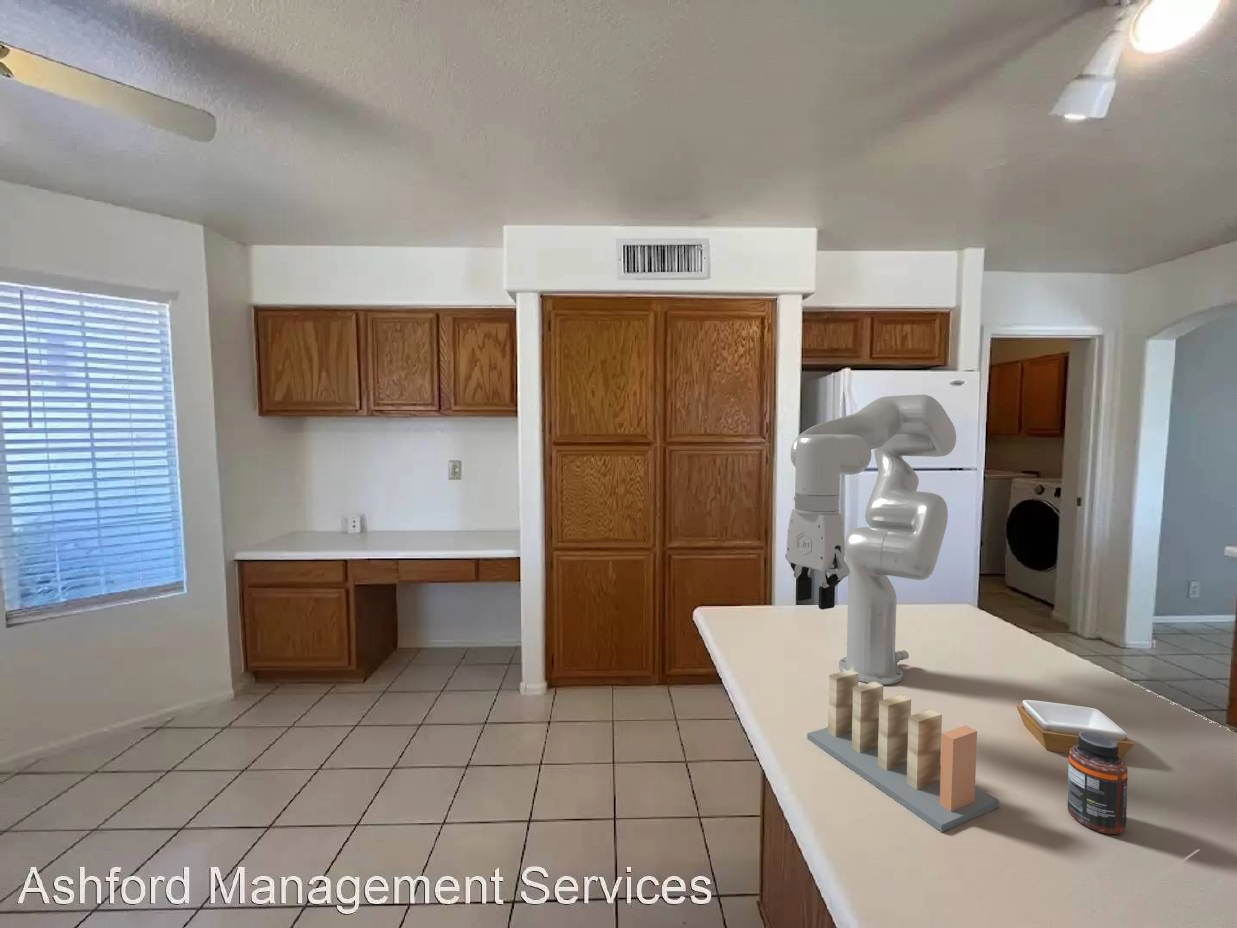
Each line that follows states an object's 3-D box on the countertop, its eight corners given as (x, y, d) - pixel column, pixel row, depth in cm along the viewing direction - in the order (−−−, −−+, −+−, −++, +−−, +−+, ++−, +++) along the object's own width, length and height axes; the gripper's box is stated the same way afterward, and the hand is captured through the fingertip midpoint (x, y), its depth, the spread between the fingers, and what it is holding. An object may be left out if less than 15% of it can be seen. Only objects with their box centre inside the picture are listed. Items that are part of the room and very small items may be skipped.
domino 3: (900, 756, 86) (902, 694, 85) (909, 761, 84) (911, 699, 84) (877, 764, 84) (879, 700, 83) (886, 769, 82) (888, 705, 82)
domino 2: (873, 740, 90) (875, 681, 90) (881, 745, 89) (883, 685, 88) (851, 747, 88) (853, 687, 88) (859, 752, 87) (861, 691, 86)
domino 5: (963, 794, 77) (965, 725, 76) (974, 801, 75) (977, 730, 75) (939, 804, 74) (941, 733, 74) (950, 811, 73) (953, 739, 73)
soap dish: (1041, 754, 88) (1043, 724, 88) (1014, 723, 98) (1015, 696, 98) (1134, 766, 85) (1135, 735, 85) (1096, 733, 95) (1097, 705, 94)
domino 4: (929, 774, 81) (931, 709, 81) (939, 780, 80) (942, 714, 79) (906, 782, 79) (908, 716, 79) (916, 789, 78) (918, 721, 77)
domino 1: (849, 725, 95) (850, 669, 94) (857, 730, 93) (858, 673, 93) (828, 732, 93) (829, 674, 92) (835, 736, 91) (836, 678, 91)
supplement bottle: (1111, 811, 75) (1115, 731, 74) (1136, 841, 69) (1140, 755, 68) (1058, 801, 77) (1062, 723, 76) (1078, 830, 71) (1082, 746, 70)
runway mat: (858, 723, 97) (858, 718, 97) (998, 806, 75) (999, 799, 75) (807, 738, 92) (807, 733, 92) (941, 832, 71) (941, 824, 71)
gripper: (768, 499, 104) (767, 593, 105) (838, 511, 88) (835, 621, 89) (799, 498, 107) (797, 589, 108) (871, 508, 91) (868, 615, 92)
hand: (814, 602), depth 98 cm, fingers open, 4 cm apart
